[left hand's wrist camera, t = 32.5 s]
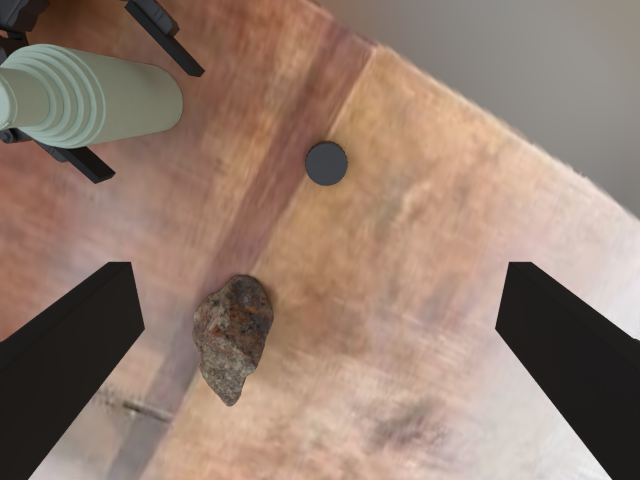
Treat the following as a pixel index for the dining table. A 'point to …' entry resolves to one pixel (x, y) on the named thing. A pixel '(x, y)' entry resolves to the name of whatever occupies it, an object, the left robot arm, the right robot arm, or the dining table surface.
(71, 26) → the dining table surface
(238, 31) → the dining table surface
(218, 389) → the rock
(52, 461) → the dining table surface
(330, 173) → the cap
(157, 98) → the bottle
